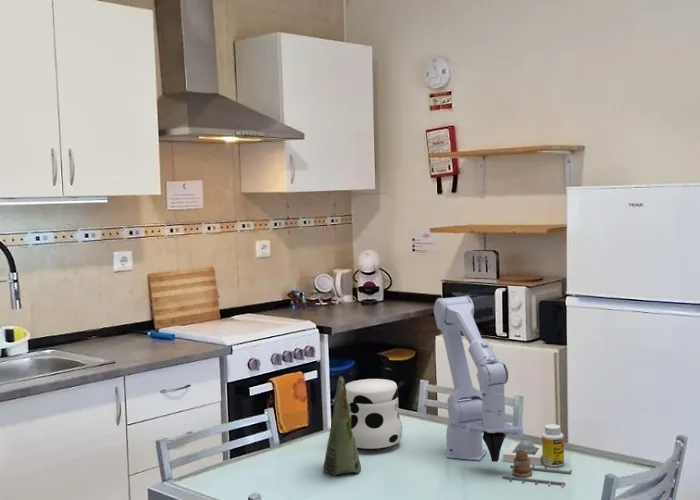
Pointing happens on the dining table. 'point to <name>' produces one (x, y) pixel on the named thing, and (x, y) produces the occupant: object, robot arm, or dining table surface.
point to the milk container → (374, 413)
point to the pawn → (522, 465)
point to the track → (537, 479)
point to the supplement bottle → (553, 446)
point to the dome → (526, 447)
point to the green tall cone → (341, 437)
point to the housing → (534, 459)
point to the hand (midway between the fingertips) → (495, 460)
